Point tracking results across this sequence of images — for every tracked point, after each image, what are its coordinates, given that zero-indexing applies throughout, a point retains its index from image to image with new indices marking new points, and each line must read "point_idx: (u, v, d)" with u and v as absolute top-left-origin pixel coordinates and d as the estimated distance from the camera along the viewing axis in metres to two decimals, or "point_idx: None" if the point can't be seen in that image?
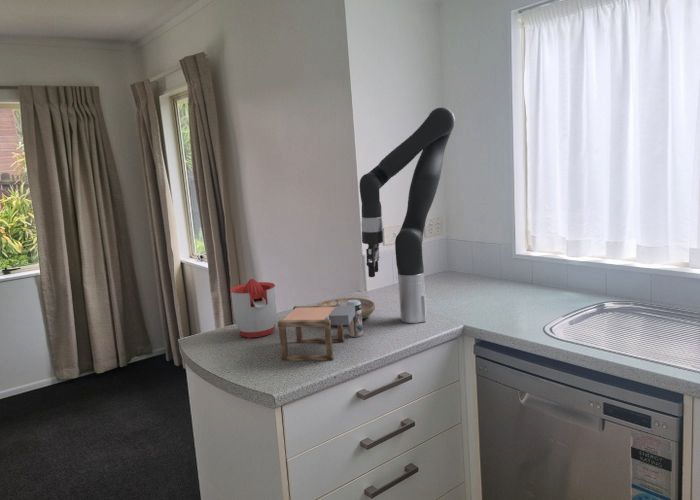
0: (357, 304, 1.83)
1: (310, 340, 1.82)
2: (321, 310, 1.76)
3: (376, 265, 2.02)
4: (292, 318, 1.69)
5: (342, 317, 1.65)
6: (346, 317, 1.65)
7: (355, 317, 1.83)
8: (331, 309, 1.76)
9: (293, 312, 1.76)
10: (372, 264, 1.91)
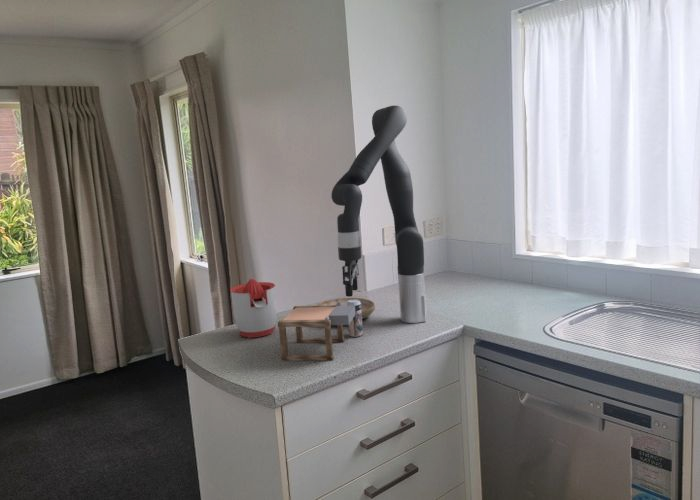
0: (357, 304, 1.83)
1: (310, 340, 1.82)
2: (321, 310, 1.76)
3: (355, 283, 1.87)
4: (292, 318, 1.69)
5: (342, 317, 1.65)
6: (346, 317, 1.65)
7: (355, 317, 1.83)
8: (331, 309, 1.76)
9: (293, 312, 1.76)
10: (349, 283, 1.76)
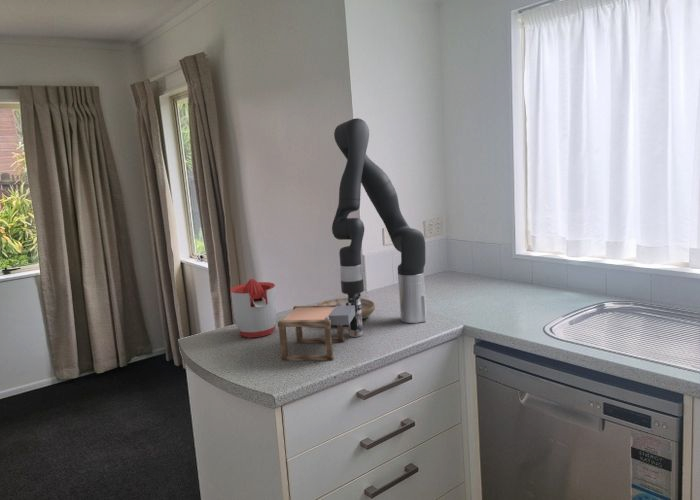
0: None
1: (310, 340, 1.82)
2: (321, 310, 1.76)
3: None
4: (292, 318, 1.69)
5: (342, 317, 1.65)
6: (346, 317, 1.65)
7: None
8: (331, 309, 1.76)
9: (293, 312, 1.76)
10: None
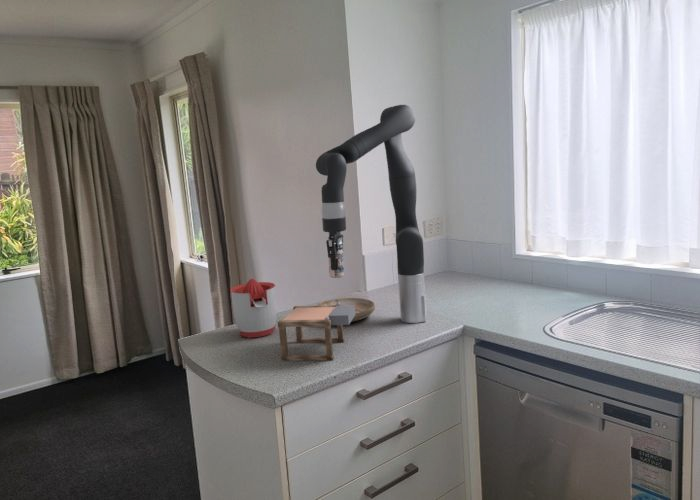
0: None
1: (310, 340, 1.82)
2: (321, 310, 1.76)
3: None
4: (292, 318, 1.69)
5: (342, 317, 1.65)
6: (346, 317, 1.65)
7: None
8: (331, 309, 1.76)
9: (293, 312, 1.76)
10: (334, 256, 1.74)
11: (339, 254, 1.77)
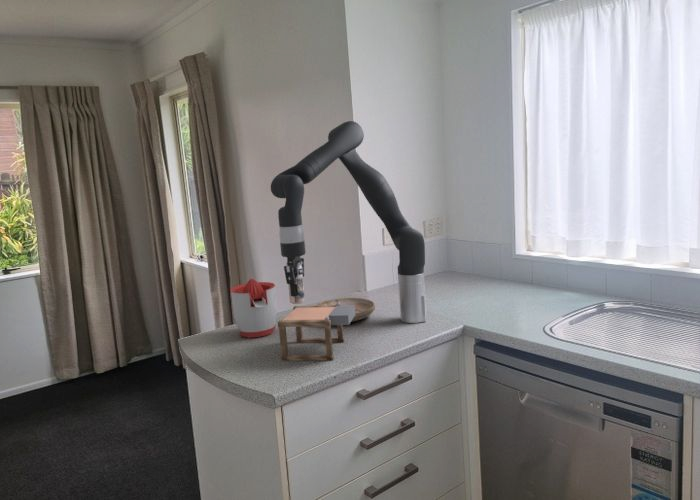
0: None
1: (310, 340, 1.82)
2: (321, 310, 1.76)
3: None
4: (292, 318, 1.69)
5: (342, 317, 1.65)
6: (346, 317, 1.65)
7: None
8: (331, 309, 1.76)
9: (293, 312, 1.76)
10: (293, 282, 1.66)
11: (299, 279, 1.70)
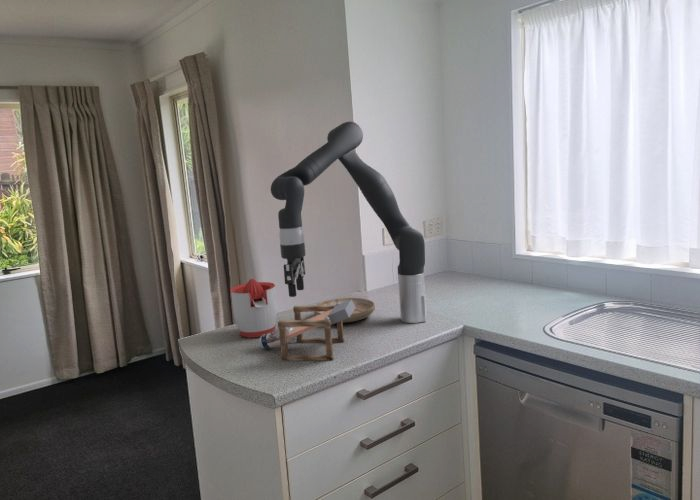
0: (260, 338, 1.77)
1: (310, 340, 1.82)
2: (322, 314, 1.76)
3: (301, 282, 1.76)
4: (295, 331, 1.69)
5: (340, 312, 1.65)
6: (344, 311, 1.65)
7: (271, 339, 1.75)
8: (331, 311, 1.76)
9: None
10: (291, 282, 1.65)
11: (269, 336, 1.76)
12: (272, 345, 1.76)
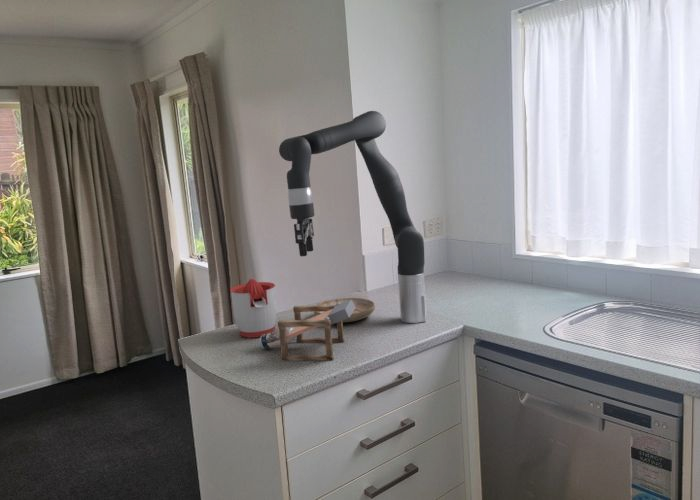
0: (260, 338, 1.77)
1: (310, 340, 1.82)
2: (322, 314, 1.76)
3: (310, 243, 1.78)
4: (295, 331, 1.69)
5: (340, 312, 1.65)
6: (344, 311, 1.65)
7: (271, 339, 1.75)
8: (331, 311, 1.76)
9: None
10: (302, 241, 1.67)
11: (269, 336, 1.76)
12: (272, 345, 1.76)
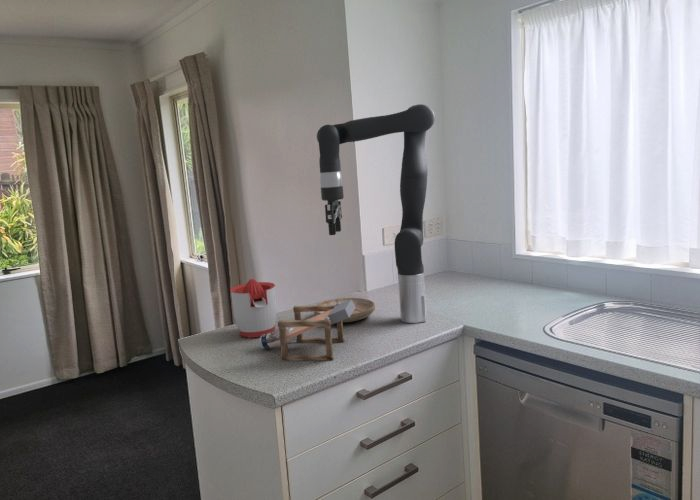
0: (260, 338, 1.77)
1: (310, 340, 1.82)
2: (322, 314, 1.76)
3: (338, 224, 1.92)
4: (295, 331, 1.69)
5: (340, 312, 1.65)
6: (344, 311, 1.65)
7: (271, 339, 1.75)
8: (331, 311, 1.76)
9: None
10: (331, 220, 1.81)
11: (269, 336, 1.76)
12: (272, 345, 1.76)
